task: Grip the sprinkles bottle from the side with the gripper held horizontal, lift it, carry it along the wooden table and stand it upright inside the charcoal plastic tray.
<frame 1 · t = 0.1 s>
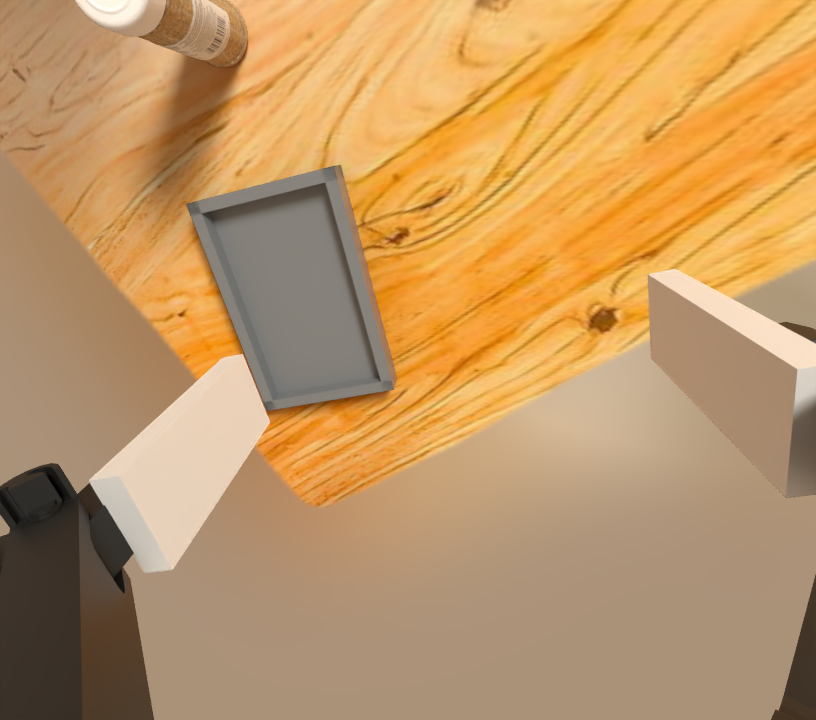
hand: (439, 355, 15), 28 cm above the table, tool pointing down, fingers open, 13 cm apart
tray: (304, 294, 44), on the table
sprinkles bottle: (222, 35, 37), on the table
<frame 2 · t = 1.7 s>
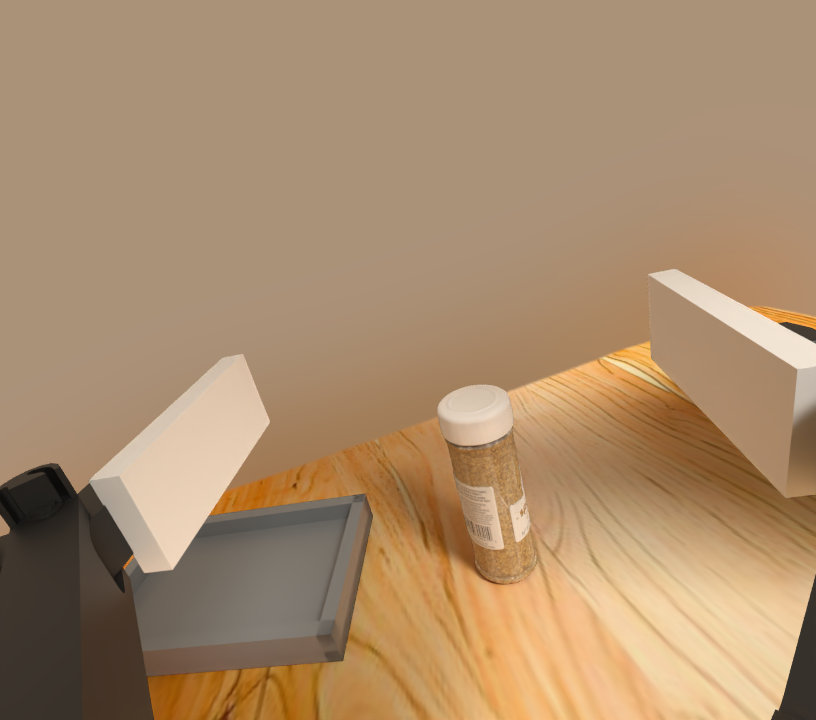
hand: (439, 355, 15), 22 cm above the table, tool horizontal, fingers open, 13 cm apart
tray: (240, 589, 38), on the table
sprinkles bottle: (506, 562, 34), on the table
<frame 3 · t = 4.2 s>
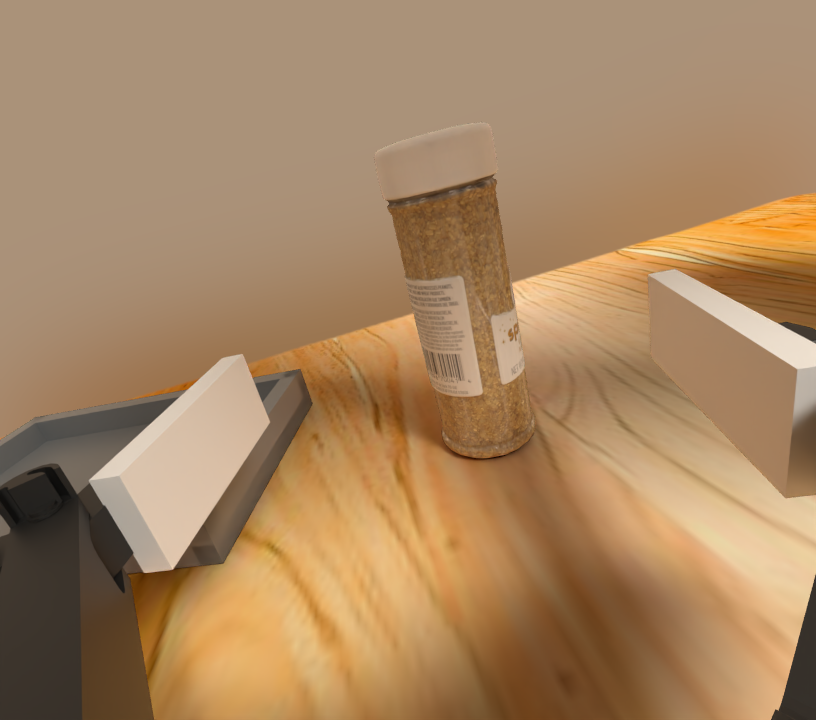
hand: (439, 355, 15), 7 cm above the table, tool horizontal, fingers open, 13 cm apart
tray: (113, 488, 27), on the table
sprinkles bottle: (489, 437, 23), on the table
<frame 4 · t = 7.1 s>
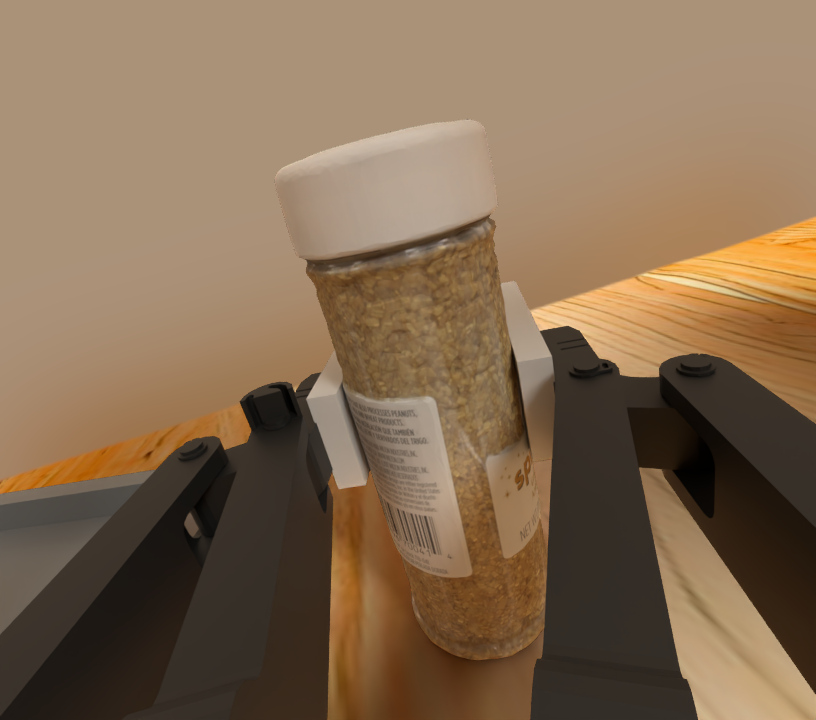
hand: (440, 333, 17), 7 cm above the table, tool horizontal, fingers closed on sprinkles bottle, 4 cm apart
sprinkles bottle: (483, 600, 15), on the table, touching gripper
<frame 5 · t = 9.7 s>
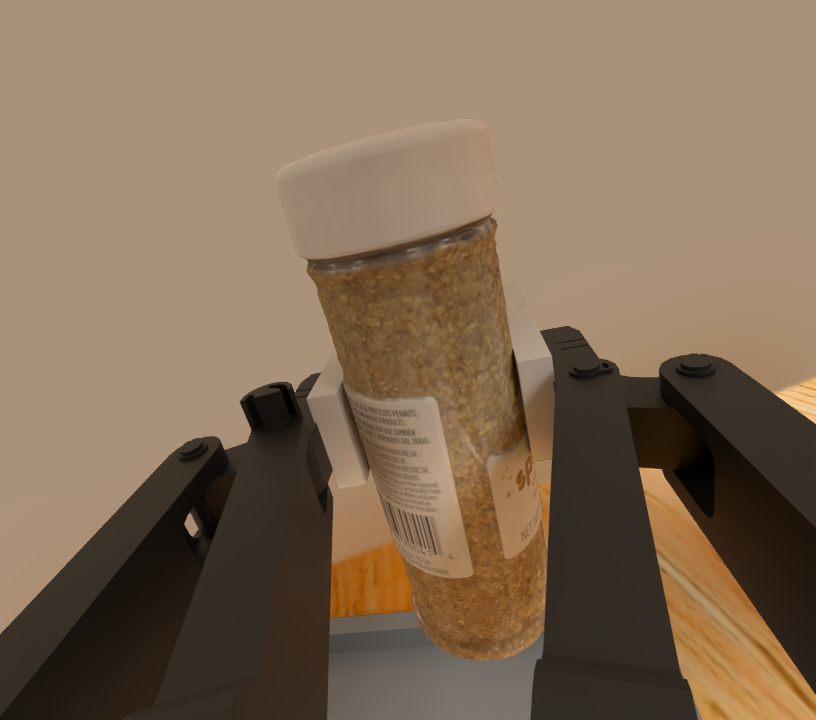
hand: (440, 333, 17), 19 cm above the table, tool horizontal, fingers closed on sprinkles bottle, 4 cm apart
sprinkles bottle: (484, 601, 15), point 12 cm above the table, touching gripper
when the fingers open (9 cm above the table, at t = 12.2 s): sprinkles bottle drops 1 cm, resting on tray.
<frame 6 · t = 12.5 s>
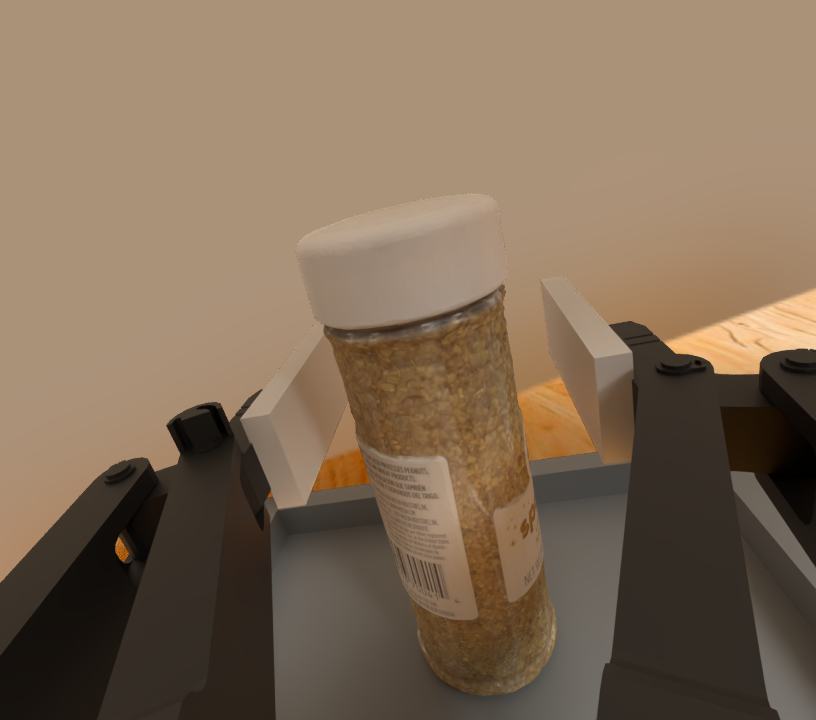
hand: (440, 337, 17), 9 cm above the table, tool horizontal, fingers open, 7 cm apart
tray: (494, 648, 16), on the table
sprinkles bottle: (486, 633, 16), point 1 cm above the table, touching tray
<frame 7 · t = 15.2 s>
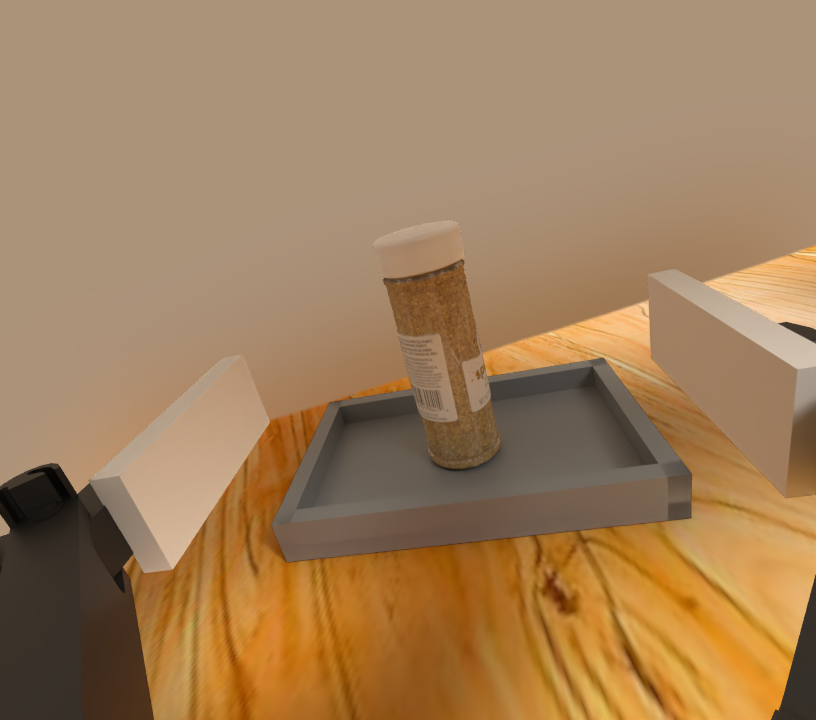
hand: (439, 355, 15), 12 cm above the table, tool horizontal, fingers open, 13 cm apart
tray: (469, 462, 29), on the table
sprinkles bottle: (465, 452, 29), point 1 cm above the table, touching tray
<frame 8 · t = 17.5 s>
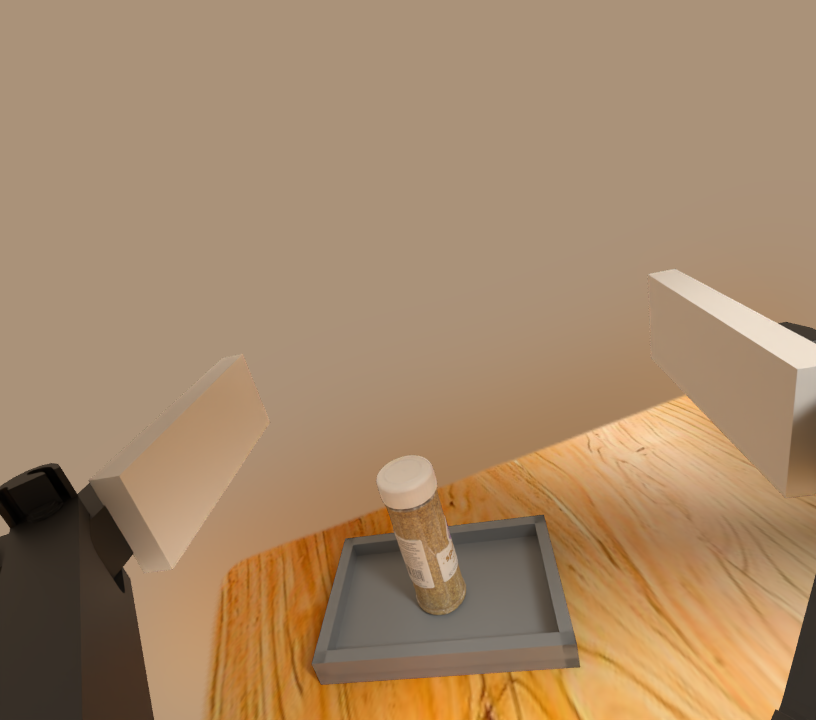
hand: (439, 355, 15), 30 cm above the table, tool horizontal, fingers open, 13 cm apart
tray: (445, 601, 42), on the table
sprinkles bottle: (442, 595, 42), point 1 cm above the table, touching tray
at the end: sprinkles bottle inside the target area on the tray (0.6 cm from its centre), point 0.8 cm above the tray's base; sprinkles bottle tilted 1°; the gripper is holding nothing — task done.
